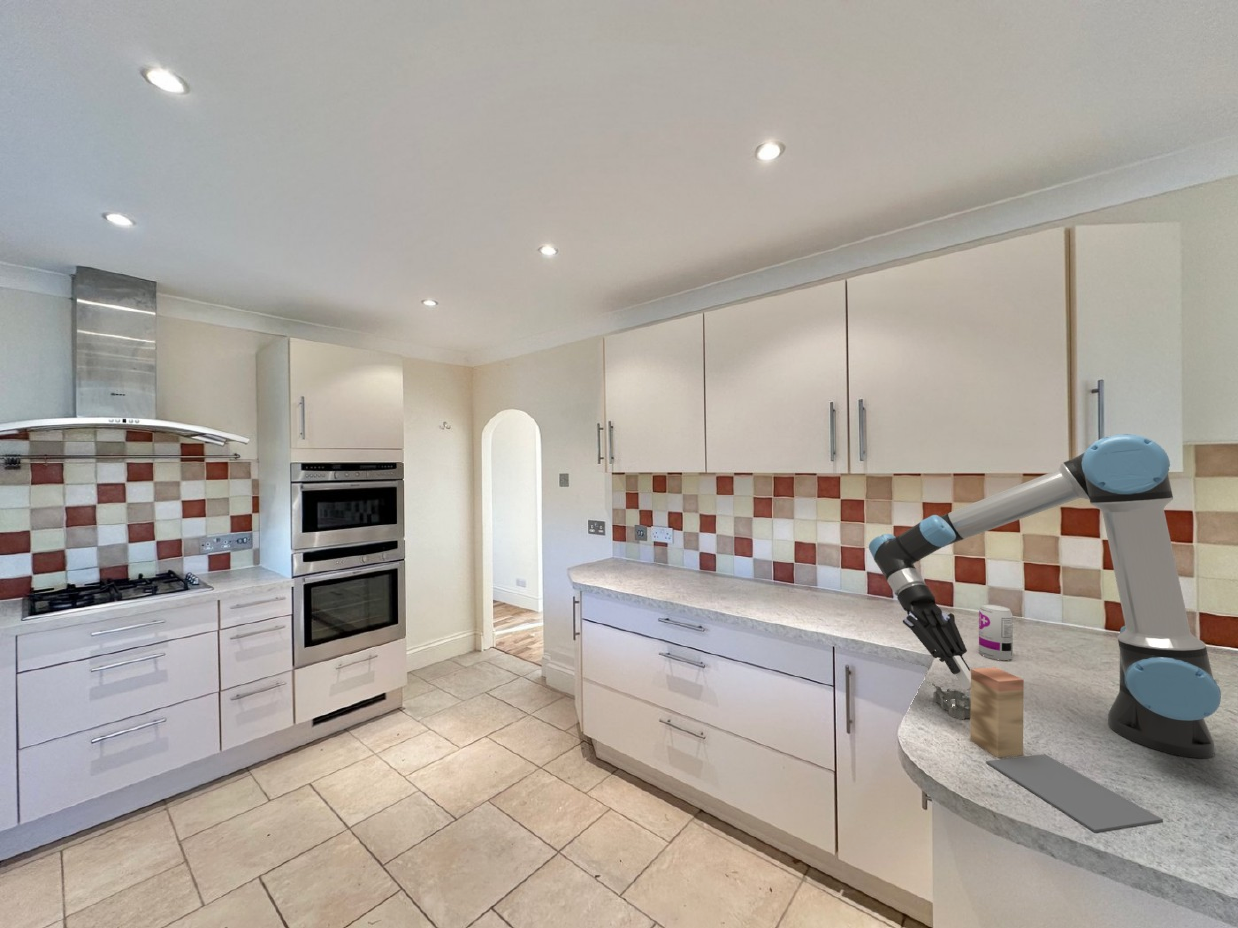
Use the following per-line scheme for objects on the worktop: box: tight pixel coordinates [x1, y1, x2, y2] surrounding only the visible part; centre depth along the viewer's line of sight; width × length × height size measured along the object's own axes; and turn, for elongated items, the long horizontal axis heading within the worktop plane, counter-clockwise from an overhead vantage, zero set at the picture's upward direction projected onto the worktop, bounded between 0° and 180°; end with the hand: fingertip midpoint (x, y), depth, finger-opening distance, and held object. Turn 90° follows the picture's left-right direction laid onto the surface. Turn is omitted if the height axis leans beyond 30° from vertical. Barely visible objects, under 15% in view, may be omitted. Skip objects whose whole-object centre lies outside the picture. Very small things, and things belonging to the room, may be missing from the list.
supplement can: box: [978, 603, 1014, 661], centre depth 148 cm, size 8×8×15 cm
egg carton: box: [931, 683, 971, 721], centre depth 114 cm, size 11×8×4 cm
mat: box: [985, 753, 1164, 834], centre depth 85 cm, size 18×14×1 cm
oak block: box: [969, 666, 1025, 759], centre depth 98 cm, size 6×6×15 cm
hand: (971, 687), depth 104 cm, fingers closed
